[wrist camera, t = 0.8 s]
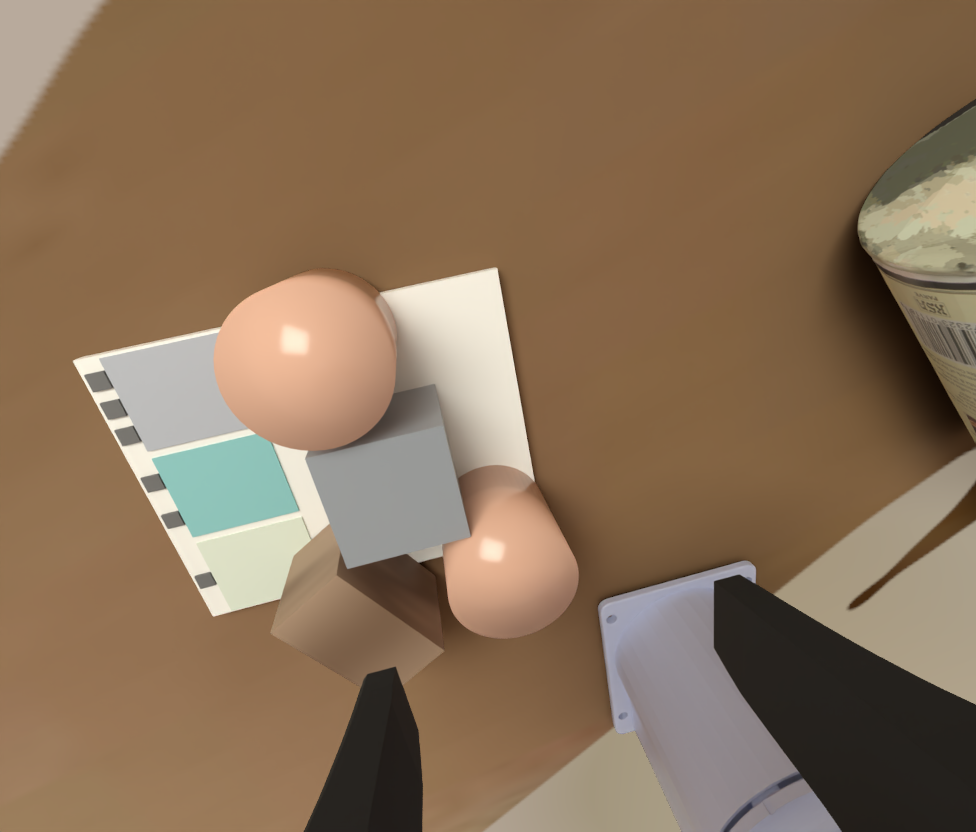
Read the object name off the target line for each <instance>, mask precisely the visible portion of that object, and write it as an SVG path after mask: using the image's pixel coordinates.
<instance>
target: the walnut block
mask: <svg viewBox="0 0 976 832" xmlns="http://www.w3.org/2000/svg"><path fill="white" fill-rule="evenodd" d="M270 634H272V635H274V636H275V637H277V638H279V639H280V640H282V641H284V642H285V643H287V644H289V645H290V646H292V647H294V648H295V649H297V650H299V651H300V652H302V653H304V654H305V655H307V656H309V657H310V658H312V659H314V660H315V661H317V662H319V663H320V664H322V665H324V666H326V667H327V668H329V669H331V670H332V671H334V672H336V673H337V674H339V675H341V676H342V677H344V678H346V679H347V680H349V681H351V682H352V683H354V684H356V685H357V686H359V687H361V686H362V683H363V679H364V678H365V677H366V675H367V674H370V673H373V672H377V671H381V670H384V669H388V668H392V667H396V669H397V671H398V674H399V677H400V680H401V683H402V686H403V685H404V684H405V683H406V682H407V681H409V680H410V679H411V678H412V677H413V676H415V675H416V674H417V673H418V672H419V671H421V670H422V669H423V668H424V667H425V666H427V665H428V664H429V663H430V662H432V661H433V660H434V659H435V658H436V657H438V656H439V655H440V654H441V653H442V652H444V651H445V650H444V641H443V633H442V625H441V617H440V609H439V601H438V593H437V585H436V577H435V575H433V574H432V573H431V572H430V571H428V570H427V569H426V568H424V567H423V566H422V565H421V564H419V563H418V562H417V561H415V560H414V559H413V558H412V557H410V556H409V555H408V554H403V555H400V556H396V557H392V558H388V559H384V560H380V561H377V562H373V563H369V564H365V565H361V566H357V567H354V568H350V569H347V567H346V564H345V562H344V559H343V557H342V554H341V551H340V549H339V546H338V544H337V541H336V538H335V536H334V533H333V531H332V528H331V525H330V524H328V525H327V526H326V527H325V528H324V529H323V530H322V531H321V532H320V533H319V534H317V535H316V536H315V537H314V538H313V539H312V540H311V541H310V542H309V543H307V544H306V545H305V546H304V547H303V548H302V549H301V550H300V551H299V552H297V553H296V554H295V555H294V556H293V559H292V563H291V566H290V569H289V573H288V576H287V579H286V583H285V586H284V589H283V593H282V596H281V599H280V603H279V606H278V609H277V613H276V616H275V619H274V623H273V626H272V629H271V633H270Z"/></svg>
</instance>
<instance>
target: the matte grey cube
mask: <svg viewBox="0 0 976 832" xmlns="http://www.w3.org/2000/svg"><path fill="white" fill-rule="evenodd" d="M305 460H306V463H307V466H308V468H309V471H310V473H311V476H312V479H313V481H314V484H315V486H316V489H317V492H318V494H319V497H320V499H321V502H322V505H323V507H324V510H325V512H326V515H327V518H328V520H329V523H330V525H331V528H332V531H333V533H334V536H335V538H336V541H337V544H338V546H339V549H340V551H341V554H342V557H343V559H344V562H345V564H346V567H347V569H350V568H354V567H357V566H361V565H365V564H369V563H373V562H377V561H380V560H384V559H388V558H392V557H396V556H400V555H403V554H407V553H411V552H415V551H419V550H423V549H426V548H430V547H434V546H438V545H442V544H446V543H449V542H453V541H457V540H461V539H465V538H469V537H471V535H470V530H469V526H468V521H467V517H466V512H465V507H464V503H463V498H462V494H461V489H460V484H459V480H458V475H457V471H456V467H455V463H454V459H453V455H452V451H451V447H450V443H449V439H448V435H447V431H446V427H445V423H444V419H443V415H442V411H441V407H440V403H439V399H438V394H437V390H436V386H435V384H432V385H428V386H423V387H419V388H415V389H410V390H406V391H402V392H398V393H393V396H392V399H391V401H390V404H389V406H388V408H387V410H386V412H385V413H384V415H383V416H382V418H381V419H380V420H379V422H378V423H377V424H376V425H375V426H374V427H373V428H372V429H371V430H370V431H368V432H367V433H366V434H365V435H363V436H362V437H360V438H358V439H357V440H355V441H353V442H351V443H349V444H346V445H344V446H340V447H337V448H333V449H328V450H319V451H308V453H307V455H306V457H305Z"/></svg>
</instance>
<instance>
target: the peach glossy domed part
mask: <svg viewBox="0 0 976 832" xmlns="http://www.w3.org/2000/svg"><path fill="white" fill-rule="evenodd" d="M397 339H398V338H397V327H396V322H395V319H394V316H393V313H392V311H391V309H390V307H389V305H388V304H387V302H386V301H385V299H384V298H383V296H382V295H381V294H380V293H379V292H378V291H377V290H376V289H375V288H374V287H373V286H372V285H371V284H369V283H368V282H366V281H365V280H364V279H362V278H360V277H358V276H356V275H354V274H351V273H349V272H346V271H342V270H338V269H330V268H319V269H312V270H308V271H304V272H301V273H299V274H297V275H294V276H292V277H290V278H288V279H285V280H283V281H281V282H279V283H277V284H274V285H272V286H270V287H268V288H266V289H264V290H261V291H259V292H257V293H255V294H253V295H251V296H250V297H248V298H247V299H245V300H244V301H242V302H241V303H240V304H239V305H238V306H237V307H235V308H234V310H233V311H232V312H231V313H230V314H229V315H228V317H227V318H226V320H225V322H224V323H223V325H222V326H221V329H220V331H219V334H218V336H217V339H216V343H215V348H214V358H213V360H214V372H215V377H216V382H217V385H218V387H219V390H220V393H221V395H222V397H223V399H224V401H225V402H226V404H227V405H228V407H229V408H230V410H231V411H232V413H233V414H234V415H235V416H236V417H237V418H238V419H239V420H240V421H241V422H242V423H243V424H244V425H245V426H246V427H247V428H248V429H250V430H251V431H253V432H254V433H256V434H257V435H258V436H260V437H262V438H264V439H266V440H268V441H270V442H272V443H275V444H277V445H280V446H283V447H287V448H291V449H297V450H305V451H319V450H328V449H333V448H337V447H340V446H344V445H346V444H349V443H351V442H353V441H355V440H357V439H358V438H360V437H362V436H363V435H365V434H366V433H367V432H368V431H370V430H371V429H372V428H373V427H374V426H375V425H376V424H377V423H378V422H379V420H380V419H381V418H382V416H383V415H384V413H385V412H386V410H387V408H388V406H389V404H390V401H391V399H392V396H393V392H394V387H395V377H396V359H397Z"/></svg>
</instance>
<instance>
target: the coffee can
mask: <svg viewBox="0 0 976 832" xmlns="http://www.w3.org/2000/svg"><path fill="white" fill-rule="evenodd" d="M857 229H858V235H859V239H860V243H861V245H862V247H863V248H864V249H865V250H866V252H867V253H868V254H869V255H870V256H871V257H872V259H873V261H874V262H875V264H876V266H877V267H878V269H879V271H880V273H881V275H882V277H883V278H884V280H885V282H886V284H887V286H888V287H889V289H890V291H891V293H892V295H893V296H894V298H895V300H896V302H897V303H898V305H899V307H900V308H901V310H902V312H903V314H904V316H905V318H906V319H907V321H908V323H909V325H910V327H911V328H912V330H913V332H914V334H915V336H916V338H917V339H918V341H919V343H920V345H921V346H922V348H923V350H924V352H925V354H926V355H927V357H928V359H929V361H930V362H931V364H932V366H933V368H934V370H935V371H936V373H937V375H938V377H939V379H940V381H941V382H942V384H943V386H944V388H945V390H946V392H947V394H948V395H949V398H950V400H951V401H952V403H953V405H954V406H955V408H956V410H957V412H958V413H959V415H960V417H961V419H962V420H963V422H964V424H965V426H966V427H967V429H968V431H969V433H970V434H971V436H972V438H973V440H974V442H975V443H976V99H975V100H974V101H972V102H970V103H969V104H968V105H966V106H965V107H963V108H962V109H960V110H959V111H957V112H956V113H954V114H953V115H951V116H950V117H949V118H947V119H946V120H945V121H943V122H942V123H940V124H939V125H938V126H936V127H935V128H934V129H932V130H931V131H930V132H929V133H927V134H926V135H925V136H924V137H923V138H921V139H920V140H919V141H918V142H917V143H915V144H914V145H913V146H912V147H911V148H910V149H908V150H907V151H906V152H905V153H904V154H903V155H902V156H901V157H900V158H899V159H898V160H897V161H896V162H895V163H894V164H893V165H892V166H891V167H890V168H889V169H888V170H887V171H886V172H885V173H884V174H883V176H882V177H881V178H880V179H879V181H878V182H877V183H876V185H875V186H874V187H873V189H872V191H871V192H870V194H869V195H868V197H867V198H866V200H865V202H864V205H863V207H862V209H861V211H860V214H859V218H858V228H857Z"/></svg>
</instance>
